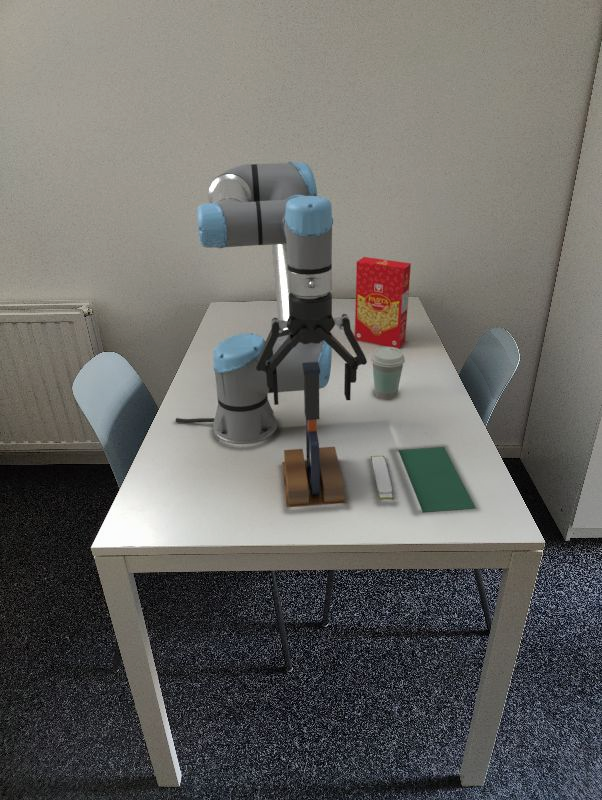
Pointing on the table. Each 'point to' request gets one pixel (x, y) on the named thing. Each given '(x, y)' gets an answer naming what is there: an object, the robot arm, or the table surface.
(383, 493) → the harmonica
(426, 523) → the table surface
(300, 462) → the stand
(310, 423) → the racket
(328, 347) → the robot arm
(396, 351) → the coffee cup
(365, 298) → the food packaging
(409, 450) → the mat
